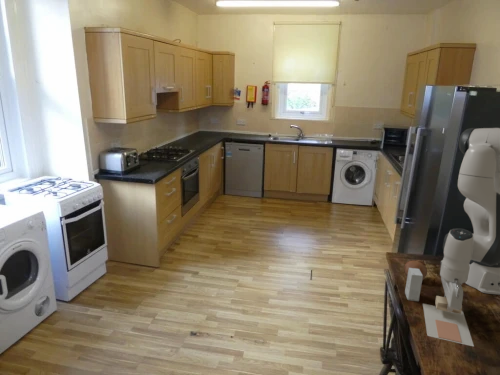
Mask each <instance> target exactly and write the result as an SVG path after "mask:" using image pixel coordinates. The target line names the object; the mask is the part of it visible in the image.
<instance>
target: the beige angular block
mask: <svg viewBox="0 0 500 375" xmlns="http://www.w3.org/2000/svg"><path fill="white" fill-rule="evenodd" d="M434 303H435V306H436V308H437V309H438V310H443V311H448V310H447V304H448V302H447V298H446V297H444V296H439V295H436V296H435V302H434ZM461 311H462V312H463V306H462V307H461V309H460V310H456V309H453V311H449V312H454V313H459V314H461Z"/></svg>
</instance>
